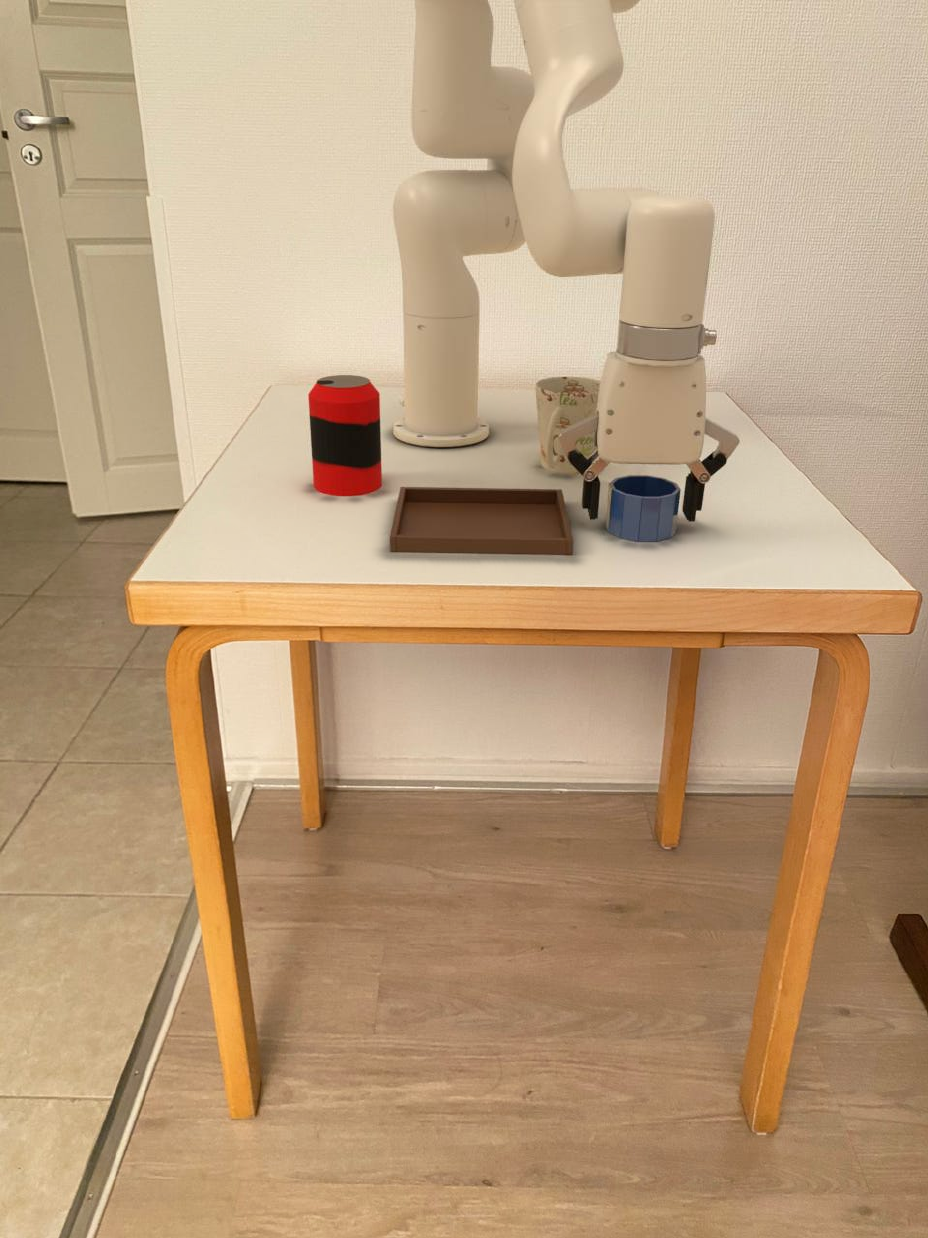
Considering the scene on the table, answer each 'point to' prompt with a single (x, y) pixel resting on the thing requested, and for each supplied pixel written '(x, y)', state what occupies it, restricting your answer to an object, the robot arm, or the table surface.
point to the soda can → (345, 435)
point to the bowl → (642, 508)
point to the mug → (564, 417)
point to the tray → (481, 521)
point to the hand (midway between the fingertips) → (640, 515)
